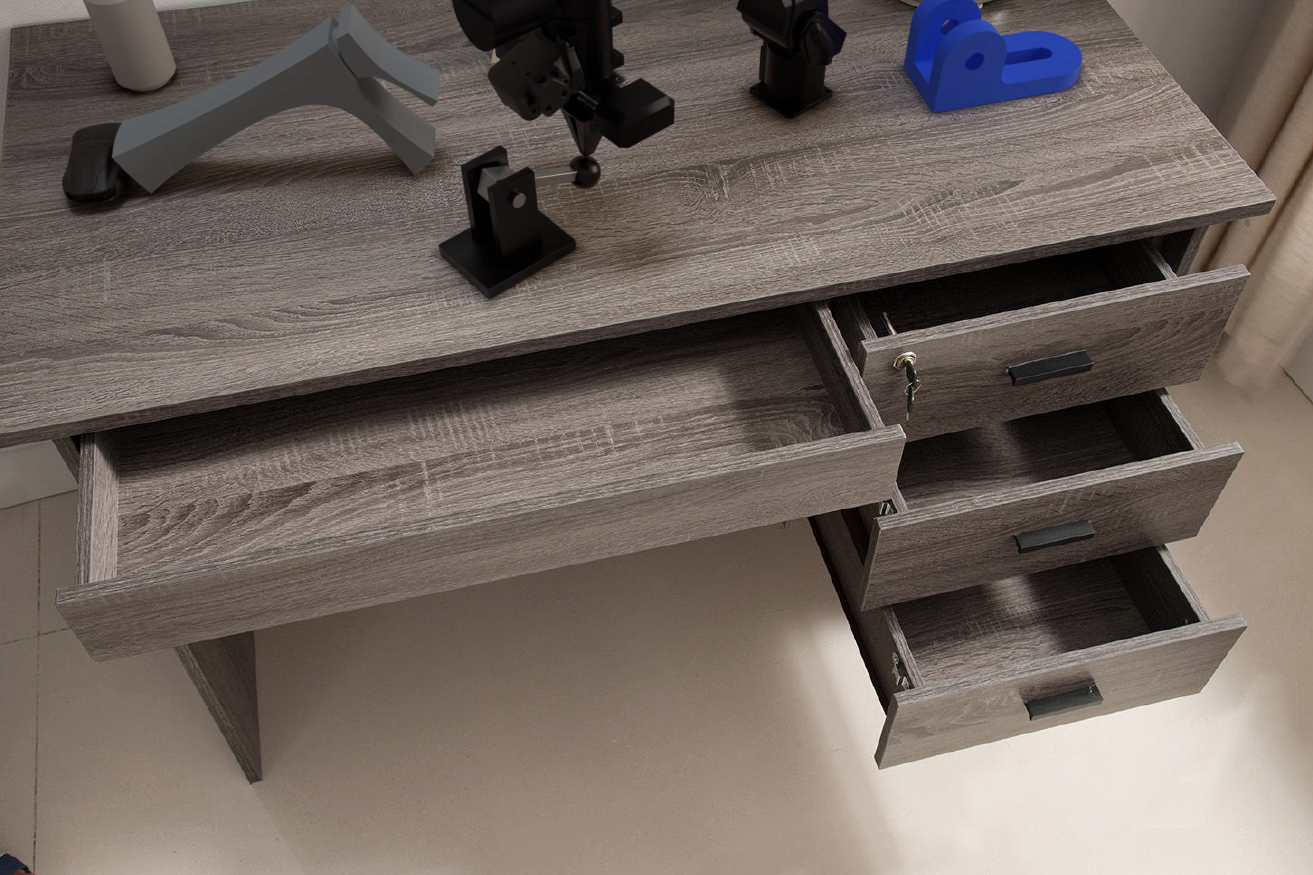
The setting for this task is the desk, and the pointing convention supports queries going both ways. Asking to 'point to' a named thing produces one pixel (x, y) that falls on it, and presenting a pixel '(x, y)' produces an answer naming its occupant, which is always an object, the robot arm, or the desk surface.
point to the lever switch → (503, 229)
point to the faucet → (291, 100)
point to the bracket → (982, 58)
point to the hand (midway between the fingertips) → (587, 153)
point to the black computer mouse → (94, 167)
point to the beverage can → (133, 42)
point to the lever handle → (549, 175)
